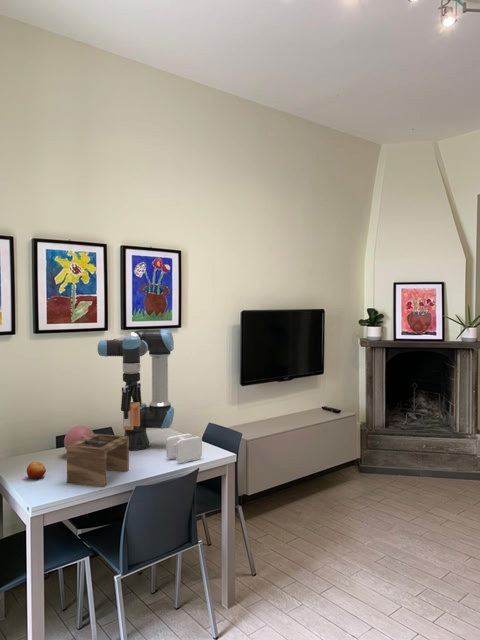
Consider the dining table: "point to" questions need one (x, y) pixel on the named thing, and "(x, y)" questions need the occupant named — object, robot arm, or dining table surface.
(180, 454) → the cable organizer
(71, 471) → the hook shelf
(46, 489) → the dining table surface
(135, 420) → the orange arch block
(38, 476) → the fruit
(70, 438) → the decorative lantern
